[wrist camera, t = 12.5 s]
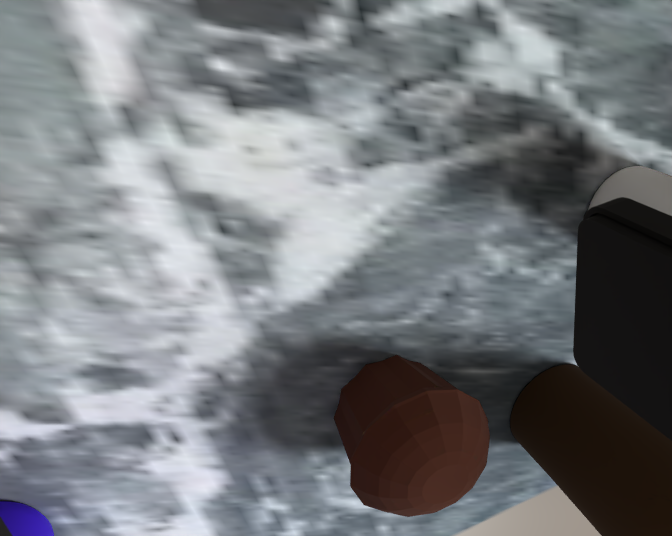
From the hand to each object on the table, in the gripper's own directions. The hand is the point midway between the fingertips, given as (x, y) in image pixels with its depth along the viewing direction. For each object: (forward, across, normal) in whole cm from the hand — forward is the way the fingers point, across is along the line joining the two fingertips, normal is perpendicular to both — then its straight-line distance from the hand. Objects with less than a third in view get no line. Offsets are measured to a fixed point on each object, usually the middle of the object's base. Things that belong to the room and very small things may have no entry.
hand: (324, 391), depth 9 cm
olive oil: (+31, -29, +39) cm, 57 cm away
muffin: (+31, -12, +30) cm, 44 cm away
